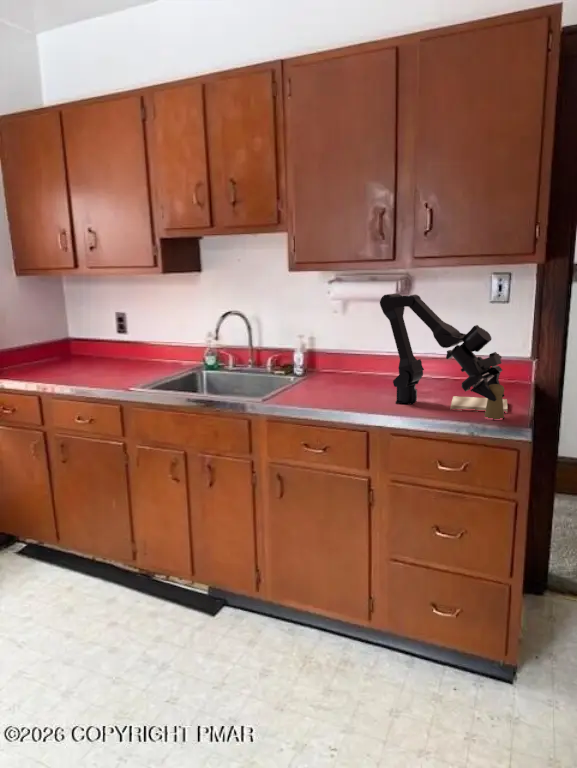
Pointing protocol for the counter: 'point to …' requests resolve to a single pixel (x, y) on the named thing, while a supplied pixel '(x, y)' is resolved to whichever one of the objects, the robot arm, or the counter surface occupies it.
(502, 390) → the cork
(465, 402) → the birch board
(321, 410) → the counter surface
